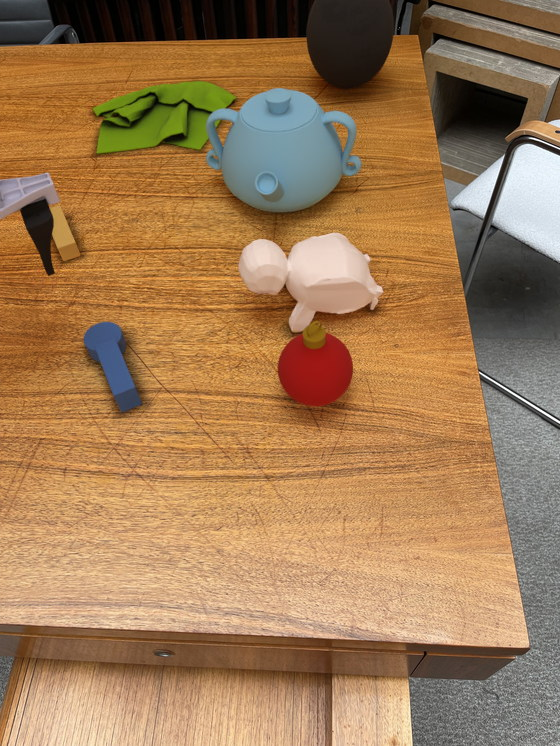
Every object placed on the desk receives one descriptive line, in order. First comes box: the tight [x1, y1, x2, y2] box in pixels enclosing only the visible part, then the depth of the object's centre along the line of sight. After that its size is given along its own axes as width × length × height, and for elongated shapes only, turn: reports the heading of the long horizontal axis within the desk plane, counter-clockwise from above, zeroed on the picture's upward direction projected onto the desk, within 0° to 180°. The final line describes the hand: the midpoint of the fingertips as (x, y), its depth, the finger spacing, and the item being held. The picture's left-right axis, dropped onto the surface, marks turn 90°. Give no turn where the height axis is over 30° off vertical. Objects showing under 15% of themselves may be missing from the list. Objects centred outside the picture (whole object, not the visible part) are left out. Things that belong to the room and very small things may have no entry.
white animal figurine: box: [237, 232, 384, 333], centre depth 67 cm, size 9×8×15 cm
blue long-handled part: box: [83, 321, 143, 413], centre depth 65 cm, size 11×4×3 cm, turn 25°
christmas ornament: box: [277, 320, 354, 407], centre depth 59 cm, size 7×7×10 cm
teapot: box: [205, 87, 362, 213], centre depth 76 cm, size 20×20×13 cm
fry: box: [49, 204, 82, 262], centre depth 78 cm, size 8×2×2 cm, turn 25°
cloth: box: [92, 80, 237, 155], centre depth 93 cm, size 20×22×2 cm
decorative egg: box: [305, 0, 395, 90], centre depth 91 cm, size 12×12×15 cm
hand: (10, 282), depth 61 cm, fingers open, 7 cm apart
